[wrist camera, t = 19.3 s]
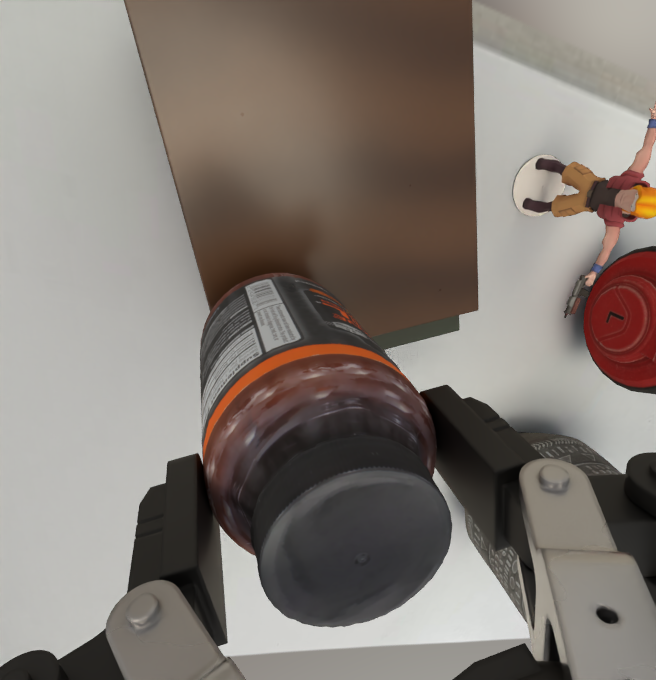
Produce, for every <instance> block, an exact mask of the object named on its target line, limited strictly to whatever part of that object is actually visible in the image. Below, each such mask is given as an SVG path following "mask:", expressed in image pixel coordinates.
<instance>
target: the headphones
mask: <svg viewBox="0 0 656 680" xmlns="http://www.w3.org/2000/svg"><path fill="white" fill-rule="evenodd" d="M584 334H585V339H586V344H587V347H588V350H589V352H590V354H591V357H592V359H593V361H594V362H595V364H596V365H597V366H598V368H599V369H600V370H601V372H602V373H603V374H604V375H606V376H607V377H608V378H609V379H610V380H612V381H613V382H614V383H615V384H617V385H619V386H621V387H624V388H626V389H628V390H631V391H636V392H643V393H651V394H656V246H651V247H646V248H641V249H636V250H633V251H631V252H629V253H627V254H625V255H623V256H621V257H619V258H618V259H617V260H616V261H614V262H613V263H612V264H611V265H610V266H608V267H607V268H606V269H605V270H604V271H603V273H602V274H601V275H600V277H599V278H598V279H597V281H596V282H595V284H594V286H593V288H592V290H591V292H590V295H589V297H588V299H587V303H586V307H585V312H584Z"/></svg>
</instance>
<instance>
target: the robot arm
mask: <svg viewBox="0 0 656 680" xmlns="http://www.w3.org/2000/svg"><path fill="white" fill-rule="evenodd" d="M420 395H421V397H422V398H423V399H424V400H425V403H426V406H427V408H428V409H429V412H430V414H431V416H432V420H433V423H434V426H435V429H436V439H437V444H436V446H437V452H436V462H435V468H436V469H437V471H438V472H439V474H440V475H441V476H442V478H443V479H444V481H445V482H446V483H447V485H448V486H449V487H450V489H451V490H452V492H453V493H454V494H455V496H456V497H457V499H458V500H459V501H460V503H461V504H462V506H463V507H464V508H465V510H466V511H467V513H468V514H469V515H470V517H471V518H472V519H473V521H474V522H475V524H476V525H477V526H478V528H479V529H480V531H481V532H482V533H483V535H484V536H485V538H486V539H487V540H488V542H489V543H490V545H491V546H492V547H493V549H494V550H495V551H499V550H502V549H505V548H508V547H510V546H511V547H512V548H513V549H514V551H515V552H516V553H517V566H518V573H519V578H520V584H521V589H522V595H523V601H524V606H525V612H526V617H527V623H528V629H529V634H530V640H531V646H532V654H531V652H530V651H529V649H528V648H527V646H526V644H525V643H524V644H521V645H519V646H516V647H513V648H511V649H508V650H506V651H503V652H500V653H498V654H495V655H493V656H490V657H488V658H485V659H482V660H479V661H477V662H474V663H473V664H472V665H471V666H469V667H468V668H467V669H466V670H464V671H463V672H462V673H461V674H459V675H458V676H457V677H455V678H454V679H453V680H656V606H655V605H656V453H642V454H638V455H636V456H634V457H632V458H631V459H630V460H629V461H628V463H627V468H626V474H616V475H596V476H588V475H586V474H585V473H584V472H583V471H582V470H581V469H579V468H578V467H576V466H575V465H573V464H571V463H568V462H566V461H562V460H558V459H550V458H544V457H543V456H542V455H541V454H540V453H539V452H538V451H537V450H536V449H535V448H534V447H533V446H531V445H530V444H529V443H528V442H527V441H526V440H525V439H524V438H523V437H522V436H521V435H520V434H519V433H517V432H516V431H515V430H514V429H513V428H512V427H510V426H509V424H508V423H507V422H506V421H505V420H503V419H502V418H500V417H499V415H498V414H497V413H496V412H495V411H494V410H493V409H492V408H491V407H490V406H488V405H487V404H485V403H483V402H480V401H478V400H476V399H474V398H471V397H469V398H465V399H462V398H461V397H460V396H459V395H458V394H457V393H456V392H455V391H454V390H453V389H452V388H451V387H449V386H448V385H443V386H440V387H436V388H432V389H429V390H425V391H422V392H420ZM137 523H138V525H137V527H136V534H135V537H136V539H135V541H134V548H133V555H132V562H131V570H130V577H129V584H128V591H127V594H126V595H125V596H124V597H123V598H122V599H121V600H120V601H119V602H118V603H117V604H116V605H115V607H114V608H113V610H112V611H111V613H110V615H109V617H108V620H107V623H106V628H105V629H104V630H103V631H102V632H101V633H100V634H98V635H97V636H96V637H94V638H93V639H91V640H90V641H88V642H87V643H85V644H83V645H82V646H80V647H79V648H77V649H75V650H74V651H72V652H71V653H69V654H67V655H66V656H64V657H62V658H61V659H59V660H57V658H56V657H55V656H54V655H53V654H52V653H50V652H48V651H44V650H36V651H30V652H27V653H24V654H22V655H19V656H17V657H15V658H13V659H12V660H10V661H8V662H7V663H5V664H4V665H3V666H1V667H0V680H246V679H245V677H244V676H243V675H242V673H241V672H240V670H239V669H238V667H237V666H236V664H235V663H234V662H233V661H232V659H231V658H230V657H227V658H225V657H224V656H223V654H222V653H221V651H220V650H219V648H218V647H217V646H220V645H223V644H226V643H228V642H227V628H226V614H225V599H224V585H223V571H222V556H221V542H220V527H219V523H218V521H217V520H216V518H215V516H214V514H213V512H212V510H211V507H210V505H209V501H208V498H207V494H206V489H205V483H204V473H203V464H202V461H201V458H200V456H199V454H198V453H196V454H193V455H189V456H186V457H182V458H179V459H175V460H171V461H168V463H167V475H166V483H165V484H161V485H158V486H154V487H151V488H150V489H149V491H148V492H147V494H146V495H145V497H144V499H143V500H142V502H141V503H140V505H139V512H138V520H137Z"/></svg>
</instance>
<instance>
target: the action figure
mask: <svg viewBox="0 0 656 680" xmlns="http://www.w3.org/2000/svg"><path fill="white" fill-rule="evenodd" d="M649 110H650V112H651V119H649V125H648V127H647V128H648V130H647V133H646V136H645V139H644V145H643V147H642V149H641V150H640V151H638V152H637V153H636V157H635V160H634V162H633V164H632V165H631V166H630V167H629V168H628V170H627V171H625V172H623V173H622V174H621V176H613V177H611V178H610V179H609V181H608V180H606V179H605V178H600V177H597V176H595V175H594V174H593V172H592V171H591V170H589V169H588V168H586V167H585V166H583V165H582V164H581V165H580V164H579V163H577V162H573V163H571V164H569V165H568V166H566V165H563V164H562V163H561V162H560V161H559V160H558V159H557V158H556V157H554V156H551V155H539V156H536V157H534V158H532V159H531V160H529V161H528V162H527V163H526V164H525V165H524V166H523V167H522V168H521V170H520V171H519V173H518V175H517V177H516V180H515V183H514V189H513V197H514V201H515V204H516V206H517V208H518V209H519V210H520V211H521V212H522V213H523V214H525V215H528V216H540V215H543V214H545V213H547V212H549V211H552V213H553V215H554V216H555V217H561V216H563V217H565V216H571V215H575V214H578V213H580V212H583V211H589V212H594V211H595V212H596V211H597V215H598V216H599V217H600V218H602V219H604V222H605V225H606V234H605V237H604V239H603V241H602V244H603V250H602V251H601V253H600V254H599V256H598V258H597V260H596V263H594V265H593V267H592V269H591V271H592V272H590V273H589V274H588V275H587V276H583V275H581V276H580V278H579V280H578V281H577V282H576V285H575V287H574V290H573V292H572V296H570V297H569V300H568V302H567V305H568V306H567V308H566V310H565V311H564V312H565V318H566V316H567V315H568V314H569V315H571V314H575V312H576V310H577V307H578V305H579V303H580V300H581V299H580V298H579V296H581V295H582V296H584V297H588V295H589V293H590V292H589V291H587V290H585V289H583V288H584V287H585V286H589V287H590V285H593V282H594V280H595V278H596V273H599V272H600V270H601V269H602V268H603V267H602V266H603V265H604V264H605V263H606V261H607V260H608V257H609V255H610V252H611V250H612V248H613V247H614V246H615V244H616V242H617V240H618V238H619V234H620V228H622V227H624V224H623V223H624V221H626V222H634V221H635V220H636V219H637V218H641V219H649V218H652V217H655V216H656V188H652V187H650V184H649V183H647V182H646V181H641V178H643V177H644V174H643V171H644V170H645V168H646V167H647V165H648V163H649V160H650V158H651V151H652V146H653V144H654V142H655V140H656V102H655V106H654V109H652V108H650V109H649ZM565 184H567V185H569V186H573V187H574V188H576V189H577V190H579V194H572V195H569V196H566V195H562V194H563V192H564V188H565Z"/></svg>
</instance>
